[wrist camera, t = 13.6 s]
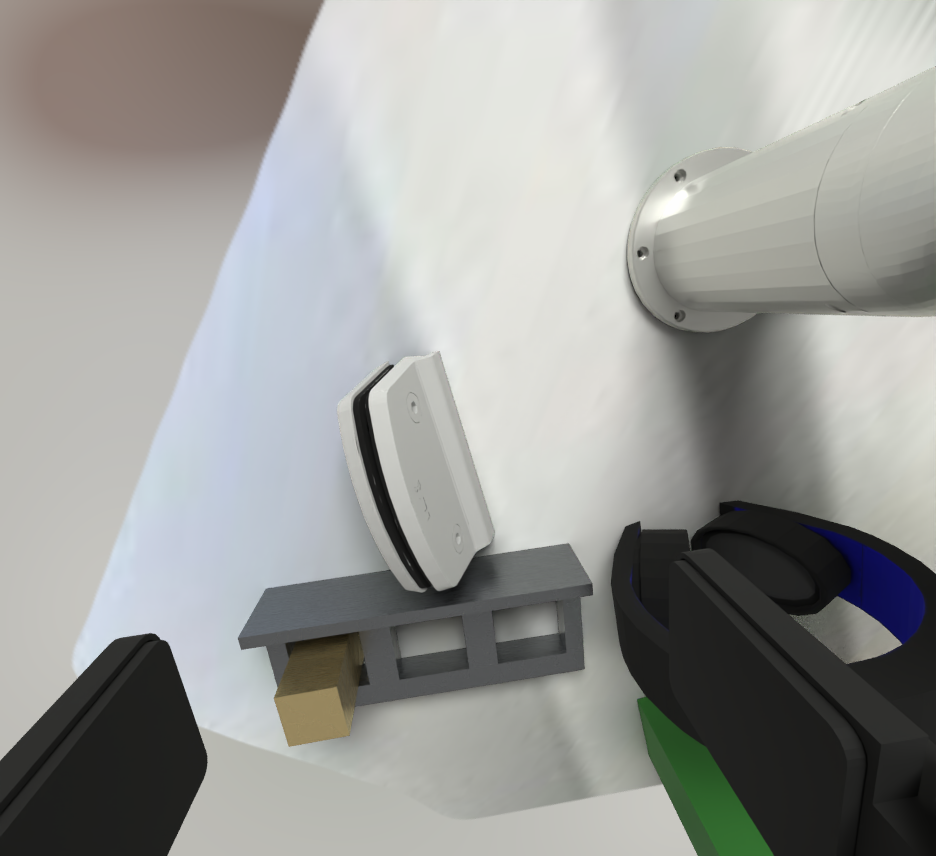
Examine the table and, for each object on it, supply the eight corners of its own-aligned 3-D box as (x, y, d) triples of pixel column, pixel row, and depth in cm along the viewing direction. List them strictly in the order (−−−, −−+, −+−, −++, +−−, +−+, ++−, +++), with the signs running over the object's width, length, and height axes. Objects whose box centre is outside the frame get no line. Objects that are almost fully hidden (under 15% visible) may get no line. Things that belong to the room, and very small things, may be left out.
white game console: (496, 535, 40) (467, 619, 31) (445, 542, 41) (403, 623, 32) (437, 345, 35) (383, 378, 26) (383, 360, 37) (313, 395, 28)
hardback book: (809, 649, 46) (1201, 1004, 22) (814, 707, 48) (1178, 1087, 24) (636, 699, 45) (852, 1108, 22) (648, 755, 47) (858, 1184, 24)
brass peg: (353, 614, 40) (336, 687, 33) (363, 655, 42) (349, 735, 34) (303, 622, 40) (273, 698, 33) (314, 664, 41) (288, 746, 34)
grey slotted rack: (568, 543, 40) (592, 583, 35) (575, 648, 43) (598, 701, 38) (266, 588, 39) (237, 638, 33) (294, 694, 42) (272, 756, 36)
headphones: (583, 592, 42) (715, 838, 23) (573, 527, 40) (707, 734, 21) (781, 545, 42) (1077, 748, 23) (780, 479, 40) (1099, 639, 21)
